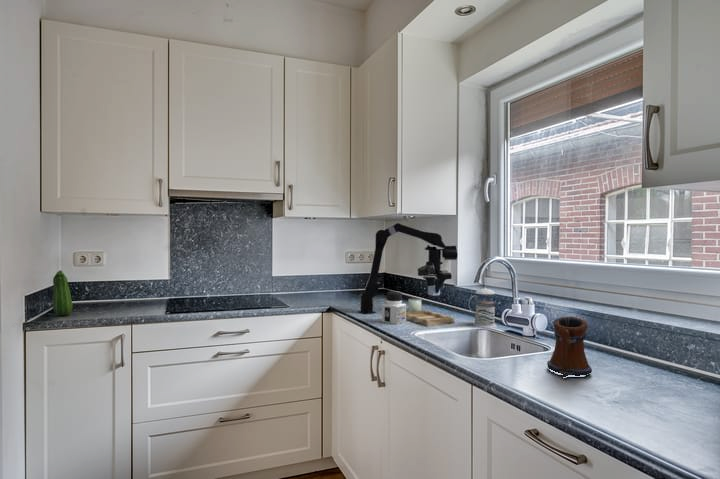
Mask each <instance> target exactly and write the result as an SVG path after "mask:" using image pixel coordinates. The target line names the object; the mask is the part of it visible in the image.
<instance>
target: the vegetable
mask: <svg viewBox="0 0 720 479" xmlns="http://www.w3.org/2000/svg"><path fill="white" fill-rule="evenodd" d="M68 282H69V281H68V278H67V276H66V275H65V273H64V272H63V270H58V271H56V274H55V275H54V276H53V278H52V284H53V295H52V296H53V298H52V307H53V308H52V310H53V313H54V314H55V315H56V316H58V317H67V316H69V315H71V313H72V311H73V307H74V306H73V300H72V296H71V291H70V287H69V286H70V285H69V283H68Z"/></svg>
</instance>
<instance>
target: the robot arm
mask: <svg viewBox="0 0 720 479" xmlns="http://www.w3.org/2000/svg"><path fill="white" fill-rule="evenodd" d="M397 233H401V234H404V235H408V236H411V237H415V238H418V239H420V240H422V241H424V242H426V243H428V244H427V245H426V247H424V250H425V251H428V260H427V261H426V262H425V265H422V266H421V267H419V268H418V267H417V276H418V277H422V279H424V280H425V282H426V284H427V287H428V286H435V291H436V293H438V292H439V290H440V291H441V287H442V286H443V285H444V283H445V281H447V280H451V279H452V276H453V275H452V273H451V272H447V271H445V272H443V270H441V265H443V261H441V259H442V258H443V260H444V261H446V260H447V261H457V259H458V251H457V245H446V244H445V243H444V242H443V238H442V235H441V234H439V233H435V232H429V231H422V230H420V229H417V228H413V227H410V226H406V225H404V224H401V223H398V222H397V223H394V224H393V225H392V226H390V227H387V228H385V229H379V230H377V231H376V232H375V236H374V237H375V244H374V246H375V248H374V253H373V254H374V255H373V257H372V258H373V259H372V262H371V268H370V273H369V277H368V279H367V282H366V285H365V287H364V290H363V291H362V292H361V293H360V310H357V312H358V313H361V314H363V315H365V314H376V311H374V300H373V298H374V297H375V296H376V295H377V293H379V292H380V291H379V288H380V285H381V282H380V281H378V278H379V271H380V268H381V267H380V266H381V262H382V257H383V251H384V248H385V246H386V244H387V241H388V239H389V238H388V237H391V236H392V235H395V234H397ZM429 244H430V245H432V246H430V245H429ZM437 247H438V248H437Z"/></svg>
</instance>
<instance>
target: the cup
mask: <svg viewBox="0 0 720 479" xmlns="http://www.w3.org/2000/svg"><path fill="white" fill-rule="evenodd" d="M413 311H422V299H421V298H408V311H407V312H413Z"/></svg>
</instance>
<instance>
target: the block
mask: <svg viewBox="0 0 720 479" xmlns="http://www.w3.org/2000/svg"><path fill="white" fill-rule="evenodd" d="M427 295H429V296H435V297H436V296H440V295H441V289H440V290H439V292H438V293H436V291H435V285H434V286H428V285H427Z"/></svg>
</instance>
